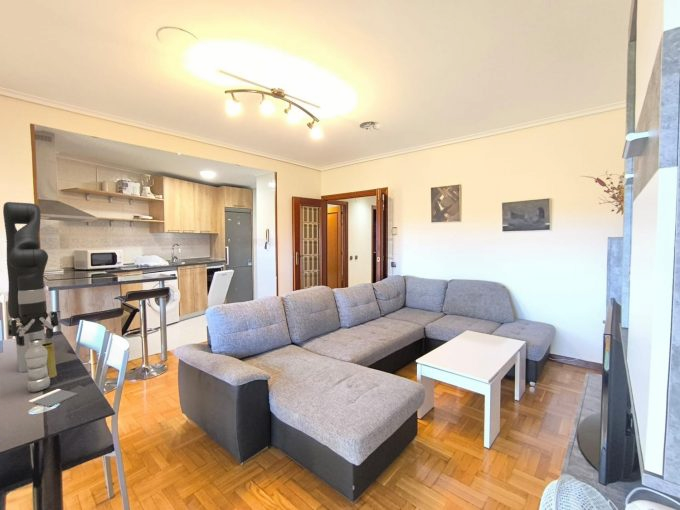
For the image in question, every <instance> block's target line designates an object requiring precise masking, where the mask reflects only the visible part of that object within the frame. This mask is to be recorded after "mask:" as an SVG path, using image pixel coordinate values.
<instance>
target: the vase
mask: <svg viewBox="0 0 680 510" xmlns="http://www.w3.org/2000/svg"><path fill="white" fill-rule="evenodd" d="M54 344H55V343H54V342H45V343H44V344H42V346H44V347H45V348H46V349H47V351H48V354H47V370H48V375H49V378H51V379H53V378H55V377H57V376H58V372H57V366H56V357H55V356H56V355H55V345H54Z"/></svg>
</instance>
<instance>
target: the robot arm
mask: <svg viewBox="0 0 680 510" xmlns="http://www.w3.org/2000/svg"><path fill="white" fill-rule="evenodd" d="M2 209H3V210H2V211H3V214H2V215H3V221H4V228H5V230H4V231H5V238H6V267H7V269H6V270H7V276H8V277H7V278H8V279H7V280H8V291H7V292H8V295H7V296H8V297H7V311H8V315H9V318H11V319H9V320H8V321H7V327H8V328H7V329H8V331H7V335H8V336H9V337H15V348H16V360H17V369H18V370H17V371H18V372H19V373H26V372H27V373H28V366H27V362H26V358H25V353H26V352H27V350H28V349H29V348H30V346H29V341H30V340H33V339H42V342H43V344H44V343H46V339H52V338H53V337H54V328H56V327H57V326H59V318H58V312H56V311H50V312H47V311H48V309H47V308H48V307H47V294H46V291H45V281H44V280H45V279H44V278H45V277H44V276H45V275H44V274H45V270H46V267H47V263H48V260H49V255H48V253H47V251H46V250H45V249H43V248H42V249H41V244H40V237H39V236H40V228H41V209H40V206H39V205H38V204H36V203H31V202H30V203H29V202H16V201H15V202H14V201H13V202H12V201H6V202H5V203H4V204H3V207H2ZM16 225H24V226H22V227H21V228H19V229H18V230H17V227H16ZM48 318H49V319H50V322H49V321H48V320H47V319H48ZM19 323H20V324H19ZM45 337H46V339H45Z"/></svg>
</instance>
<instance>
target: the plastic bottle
mask: <svg viewBox="0 0 680 510" xmlns="http://www.w3.org/2000/svg"><path fill="white" fill-rule="evenodd" d="M42 344H43V342H42V339H33V340H30V341H29V346H30V348H29V349H28V350H27V352H26V353H25V358H26V362H27V366H28V371H27V373H28V374H27V378H28V379H27V383H26V384H27V385H26V386H27V390H28V391H29V392H33V393H34V392H41V391H43V390H45V389H47V388H49V386H50V385H51V379H50V378H49V375H48V370H47V354H48V351H47V349H46V348H45V347H44V346H42Z"/></svg>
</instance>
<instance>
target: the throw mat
mask: <svg viewBox="0 0 680 510" xmlns="http://www.w3.org/2000/svg"><path fill="white" fill-rule="evenodd" d="M73 396H74V397H75V396H79V393H77V392H72V391H68V390H64V389H60V388H57V389H55V390H52V391H49V392H47V393H44V394H42V395H39V396H37V397H35V398H32V399H30V400H28V403H30V402H31V403H30V404H34V403H35V404H34V405H38V404H39V405H38V406H42V405H44V406H43V407H45V406H47V407H46V408H51V407H54V406H55V404H56V405H58V404H60V403H62V401H63V402H65V401H67V400H69V399H71V397H72V398H74V397H73ZM64 400H65V401H64ZM57 403H58V404H57ZM53 405H54V406H53ZM50 406H51V407H50Z"/></svg>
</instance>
